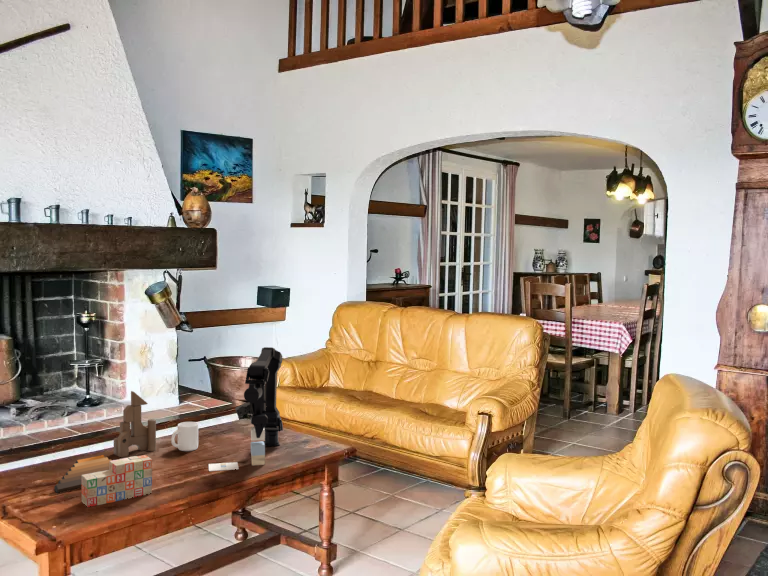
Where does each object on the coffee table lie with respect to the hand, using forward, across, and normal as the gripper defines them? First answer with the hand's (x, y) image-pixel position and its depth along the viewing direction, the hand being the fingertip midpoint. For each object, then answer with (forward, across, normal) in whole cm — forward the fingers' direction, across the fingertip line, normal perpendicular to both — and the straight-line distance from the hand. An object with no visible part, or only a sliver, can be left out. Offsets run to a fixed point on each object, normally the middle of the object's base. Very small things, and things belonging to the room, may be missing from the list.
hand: (257, 435), depth 268 cm
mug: (+11, -24, -28) cm, 39 cm away
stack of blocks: (+11, +27, -49) cm, 57 cm away
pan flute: (+11, +2, -64) cm, 65 cm away
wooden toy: (+11, -24, -47) cm, 54 cm away
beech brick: (+11, 0, 0) cm, 11 cm away
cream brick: (+1, 0, 0) cm, 1 cm away
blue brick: (+7, 0, 0) cm, 7 cm away
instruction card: (+11, +2, -13) cm, 17 cm away
